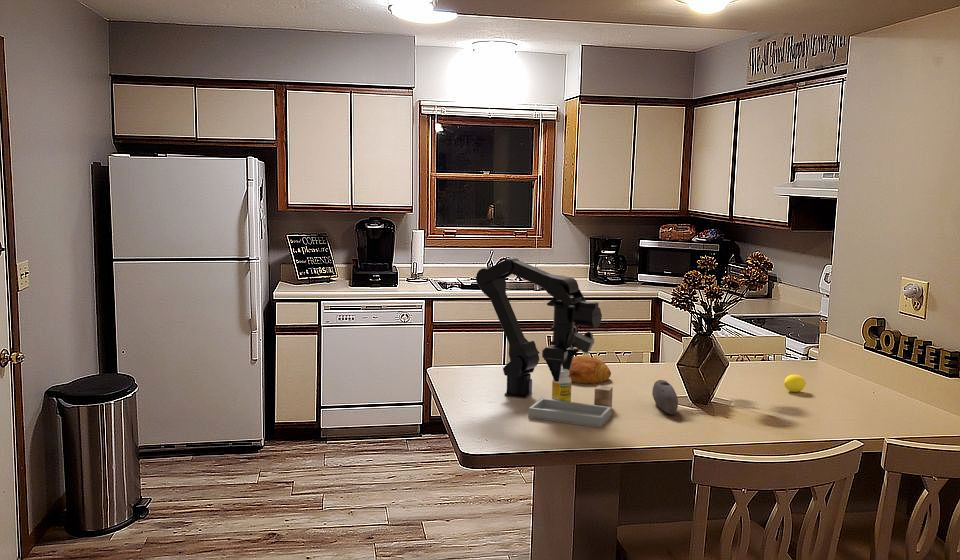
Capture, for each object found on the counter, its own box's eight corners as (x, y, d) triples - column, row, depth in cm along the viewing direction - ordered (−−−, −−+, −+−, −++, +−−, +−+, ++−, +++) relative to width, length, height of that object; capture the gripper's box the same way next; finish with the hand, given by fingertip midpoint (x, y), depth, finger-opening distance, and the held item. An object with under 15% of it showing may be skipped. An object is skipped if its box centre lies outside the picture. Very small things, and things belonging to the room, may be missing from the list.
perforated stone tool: (682, 418, 214) (683, 393, 213) (662, 418, 214) (664, 392, 213) (668, 402, 229) (670, 379, 228) (650, 402, 229) (651, 378, 228)
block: (593, 410, 220) (594, 388, 219) (597, 406, 224) (598, 385, 223) (608, 411, 218) (609, 390, 218) (611, 408, 222) (612, 387, 221)
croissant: (574, 377, 264) (572, 353, 264) (617, 378, 255) (615, 353, 254) (552, 385, 252) (550, 360, 252) (596, 386, 243) (594, 360, 243)
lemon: (788, 394, 239) (789, 377, 239) (779, 389, 245) (780, 372, 244) (809, 394, 240) (811, 376, 240) (800, 389, 246) (801, 372, 245)
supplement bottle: (562, 399, 229) (563, 367, 228) (574, 404, 225) (575, 371, 224) (547, 402, 226) (548, 369, 225) (559, 407, 222) (560, 373, 221)
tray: (528, 417, 212) (528, 408, 211) (541, 407, 221) (541, 398, 221) (600, 427, 204) (601, 418, 204) (611, 416, 214) (611, 407, 213)
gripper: (582, 331, 211) (580, 389, 213) (600, 320, 228) (598, 373, 230) (542, 327, 215) (540, 384, 217) (563, 316, 232) (561, 369, 234)
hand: (561, 377), depth 225 cm, fingers open, 9 cm apart
